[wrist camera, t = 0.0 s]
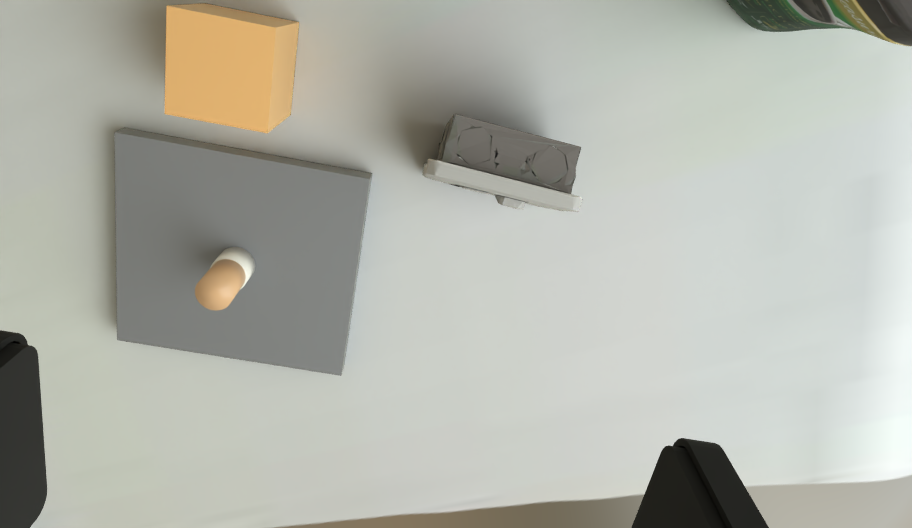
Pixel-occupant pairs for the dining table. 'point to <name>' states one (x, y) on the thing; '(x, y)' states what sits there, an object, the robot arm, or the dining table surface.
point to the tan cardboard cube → (229, 66)
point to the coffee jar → (831, 16)
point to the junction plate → (236, 213)
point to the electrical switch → (506, 165)
